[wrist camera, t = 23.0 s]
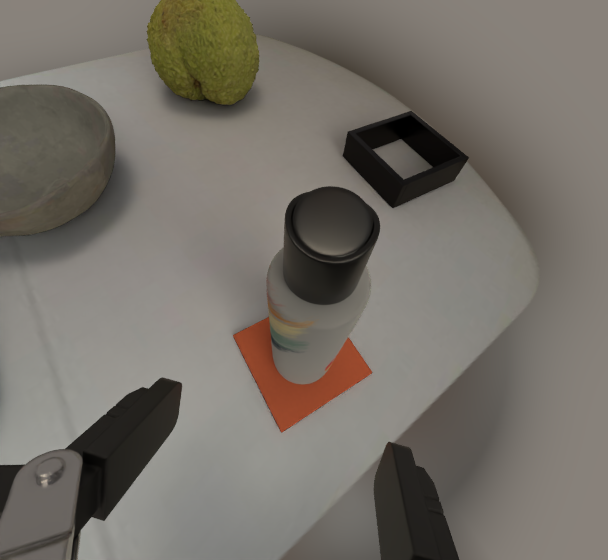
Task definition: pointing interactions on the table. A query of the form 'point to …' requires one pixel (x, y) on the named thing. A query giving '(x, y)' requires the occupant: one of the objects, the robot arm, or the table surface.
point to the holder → (418, 138)
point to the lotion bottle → (319, 280)
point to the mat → (289, 396)
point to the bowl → (50, 156)
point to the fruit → (204, 49)
